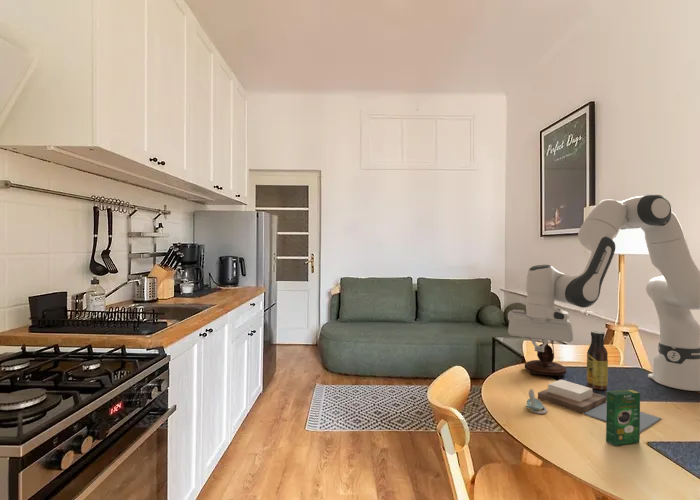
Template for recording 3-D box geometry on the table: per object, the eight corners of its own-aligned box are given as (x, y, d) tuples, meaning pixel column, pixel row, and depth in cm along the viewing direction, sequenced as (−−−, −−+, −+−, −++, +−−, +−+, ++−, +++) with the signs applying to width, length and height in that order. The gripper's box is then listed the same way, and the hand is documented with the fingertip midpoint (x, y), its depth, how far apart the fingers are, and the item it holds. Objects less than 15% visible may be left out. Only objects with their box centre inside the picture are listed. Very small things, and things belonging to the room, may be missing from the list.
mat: (607, 402, 122) (607, 401, 122) (661, 419, 111) (661, 417, 111) (583, 414, 114) (583, 413, 114) (639, 433, 102) (639, 431, 102)
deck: (562, 389, 134) (562, 383, 134) (606, 402, 123) (606, 396, 122) (537, 398, 126) (537, 392, 126) (582, 413, 114) (582, 407, 114)
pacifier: (548, 408, 119) (527, 404, 122) (549, 388, 119) (528, 384, 122) (546, 417, 113) (523, 412, 116) (546, 396, 112) (524, 391, 116)
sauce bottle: (585, 383, 140) (585, 329, 140) (606, 385, 137) (606, 330, 137) (588, 389, 134) (588, 332, 134) (609, 392, 131) (609, 334, 131)
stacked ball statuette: (567, 381, 142) (567, 327, 142) (524, 376, 148) (524, 324, 148) (564, 370, 155) (564, 320, 155) (524, 365, 162) (524, 318, 161)
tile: (561, 386, 131) (561, 379, 131) (592, 396, 123) (592, 388, 123) (548, 391, 127) (548, 384, 127) (579, 401, 118) (579, 393, 118)
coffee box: (630, 437, 100) (630, 387, 100) (641, 443, 97) (641, 391, 97) (605, 441, 98) (605, 390, 98) (615, 447, 95) (615, 394, 95)
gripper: (506, 310, 135) (506, 349, 136) (573, 315, 125) (572, 358, 125) (509, 307, 141) (508, 345, 141) (573, 313, 131) (572, 353, 131)
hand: (539, 351), depth 133 cm, fingers closed
